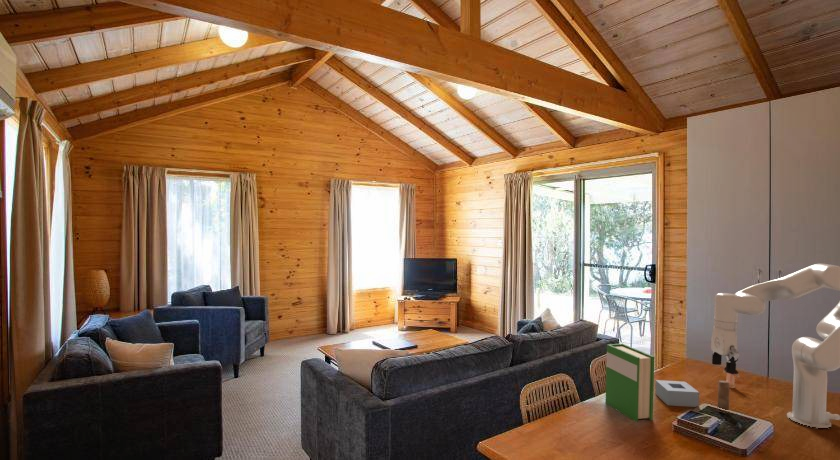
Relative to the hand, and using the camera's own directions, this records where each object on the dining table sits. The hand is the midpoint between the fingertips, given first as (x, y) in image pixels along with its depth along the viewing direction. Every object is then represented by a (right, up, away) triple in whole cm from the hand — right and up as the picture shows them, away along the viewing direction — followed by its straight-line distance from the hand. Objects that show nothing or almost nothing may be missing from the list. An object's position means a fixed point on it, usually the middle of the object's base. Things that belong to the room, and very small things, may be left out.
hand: (723, 368), depth 175 cm
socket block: (-12, -17, +12) cm, 24 cm away
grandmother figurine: (+22, -17, +28) cm, 40 cm away
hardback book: (-37, -17, 0) cm, 41 cm away
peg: (0, -17, 0) cm, 17 cm away
